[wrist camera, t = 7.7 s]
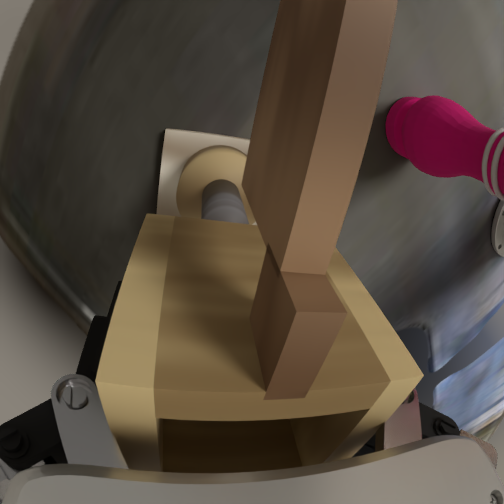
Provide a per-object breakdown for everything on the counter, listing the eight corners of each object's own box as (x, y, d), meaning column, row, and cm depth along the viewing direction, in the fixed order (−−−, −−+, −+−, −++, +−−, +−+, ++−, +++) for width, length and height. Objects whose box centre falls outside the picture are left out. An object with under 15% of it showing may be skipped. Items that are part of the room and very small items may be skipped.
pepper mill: (384, 168, 28) (547, 284, 11) (374, 95, 24) (574, 152, 7) (439, 155, 28) (592, 246, 11) (432, 89, 24) (610, 142, 7)
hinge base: (166, 128, 24) (142, 152, 15) (284, 145, 26) (327, 180, 17) (153, 289, 31) (140, 366, 22) (249, 297, 33) (265, 373, 24)
